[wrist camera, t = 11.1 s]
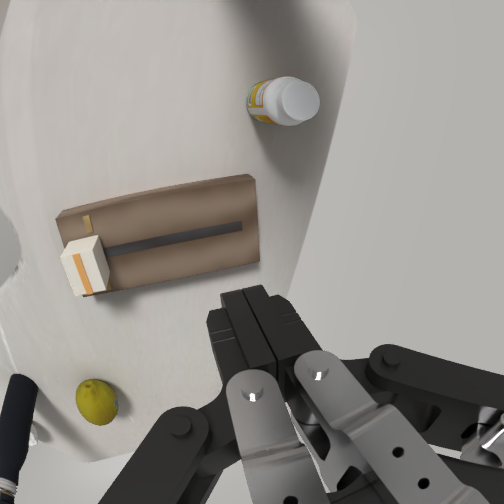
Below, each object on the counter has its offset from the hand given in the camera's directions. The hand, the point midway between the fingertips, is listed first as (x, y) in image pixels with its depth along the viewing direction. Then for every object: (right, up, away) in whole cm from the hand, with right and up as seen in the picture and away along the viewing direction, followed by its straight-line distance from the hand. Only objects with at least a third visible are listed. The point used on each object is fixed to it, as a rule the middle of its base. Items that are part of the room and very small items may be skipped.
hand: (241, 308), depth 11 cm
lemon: (-28, -22, +34) cm, 49 cm away
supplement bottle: (+2, +20, +22) cm, 30 cm away
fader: (-19, +2, +21) cm, 28 cm away
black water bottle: (-44, -24, +29) cm, 58 cm away
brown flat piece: (-11, +5, +26) cm, 28 cm away
